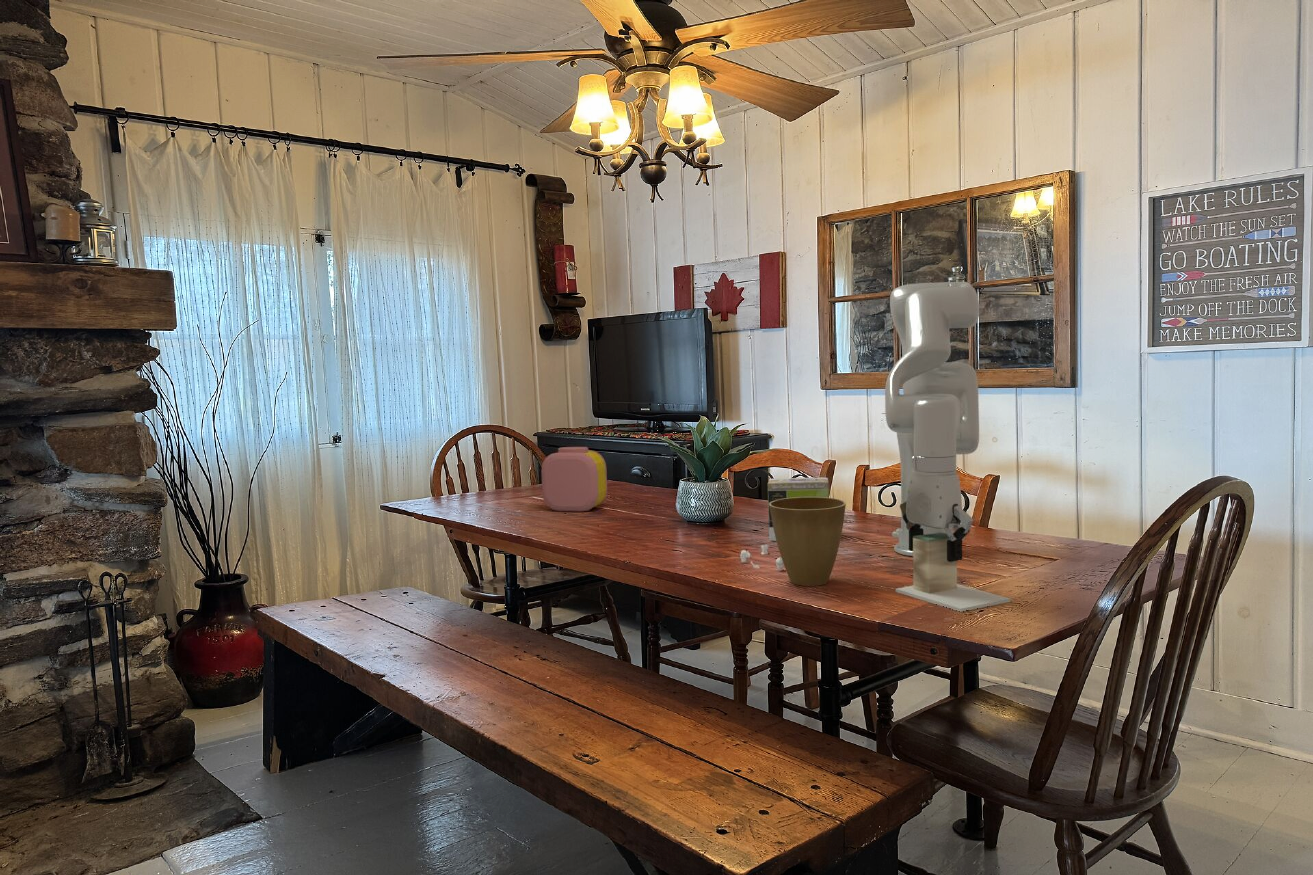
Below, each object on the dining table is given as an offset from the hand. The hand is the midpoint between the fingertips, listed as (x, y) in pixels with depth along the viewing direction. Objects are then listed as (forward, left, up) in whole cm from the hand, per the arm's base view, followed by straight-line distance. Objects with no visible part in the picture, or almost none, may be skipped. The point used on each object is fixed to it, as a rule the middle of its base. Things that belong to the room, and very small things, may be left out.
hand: (934, 555), depth 162 cm
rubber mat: (+5, -1, -7) cm, 8 cm away
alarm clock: (-131, -21, -7) cm, 133 cm away
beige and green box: (+1, -1, -6) cm, 6 cm away
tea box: (-55, +9, -7) cm, 57 cm away
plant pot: (-18, -16, -7) cm, 25 cm away
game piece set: (-36, -9, -7) cm, 38 cm away
